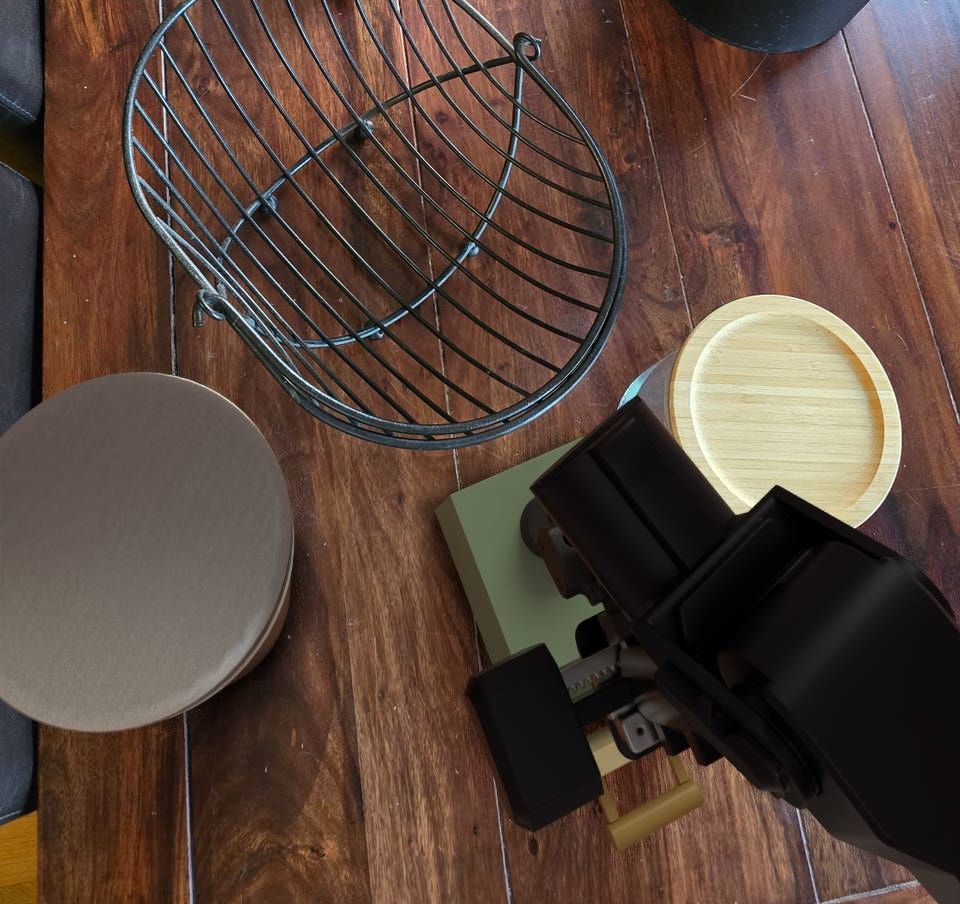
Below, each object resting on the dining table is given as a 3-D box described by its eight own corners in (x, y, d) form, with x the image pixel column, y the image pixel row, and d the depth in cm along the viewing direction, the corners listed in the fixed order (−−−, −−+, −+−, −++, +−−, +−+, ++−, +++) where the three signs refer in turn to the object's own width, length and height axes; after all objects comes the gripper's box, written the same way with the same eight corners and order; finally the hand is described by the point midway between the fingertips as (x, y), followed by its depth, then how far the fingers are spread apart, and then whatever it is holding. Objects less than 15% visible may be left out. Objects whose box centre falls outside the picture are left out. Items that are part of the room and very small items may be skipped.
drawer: (702, 785, 68) (739, 796, 62) (577, 855, 65) (603, 873, 60) (605, 557, 73) (631, 549, 67) (486, 614, 70) (502, 611, 65)
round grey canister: (174, 479, 72) (66, 316, 37) (319, 549, 72) (350, 450, 36) (86, 646, 67) (-134, 641, 32) (241, 723, 67) (189, 802, 32)
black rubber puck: (590, 544, 66) (600, 540, 64) (534, 570, 65) (543, 567, 63) (564, 483, 68) (574, 477, 66) (510, 508, 67) (517, 503, 64)
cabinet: (636, 614, 72) (673, 610, 65) (499, 682, 70) (522, 686, 62) (566, 452, 76) (595, 431, 69) (434, 510, 74) (449, 494, 66)
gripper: (823, 381, 51) (707, 435, 65) (439, 557, 45) (401, 575, 59) (958, 639, 47) (803, 638, 61) (555, 868, 41) (485, 809, 55)
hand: (626, 656), depth 59 cm, fingers closed
